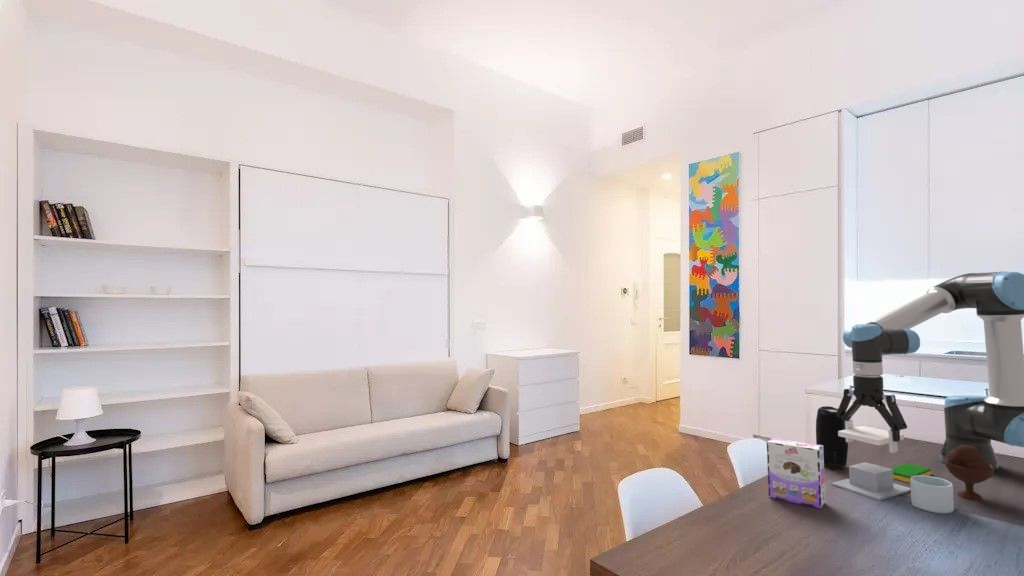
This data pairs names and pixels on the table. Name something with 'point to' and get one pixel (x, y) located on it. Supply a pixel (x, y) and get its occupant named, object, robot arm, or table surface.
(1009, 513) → the table surface
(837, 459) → the portable speaker
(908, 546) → the table surface
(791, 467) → the candy box
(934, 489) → the ceramic bowl
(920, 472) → the dish sponge
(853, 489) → the stand
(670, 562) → the table surface
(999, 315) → the robot arm
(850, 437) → the white flat square block
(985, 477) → the ice cream bowl
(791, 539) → the table surface
